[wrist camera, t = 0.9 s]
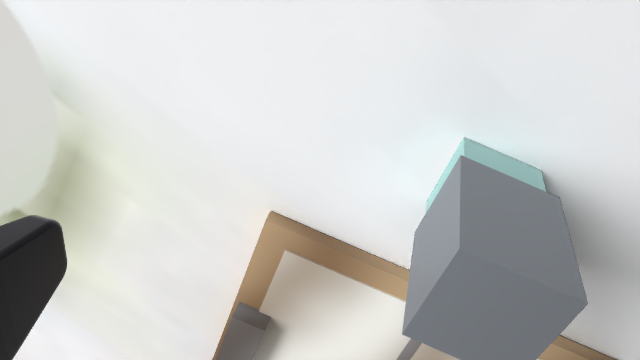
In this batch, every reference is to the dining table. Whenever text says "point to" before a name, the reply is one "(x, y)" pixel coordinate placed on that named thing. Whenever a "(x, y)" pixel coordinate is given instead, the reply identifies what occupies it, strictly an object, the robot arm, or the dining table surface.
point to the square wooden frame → (329, 304)
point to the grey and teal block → (491, 262)
